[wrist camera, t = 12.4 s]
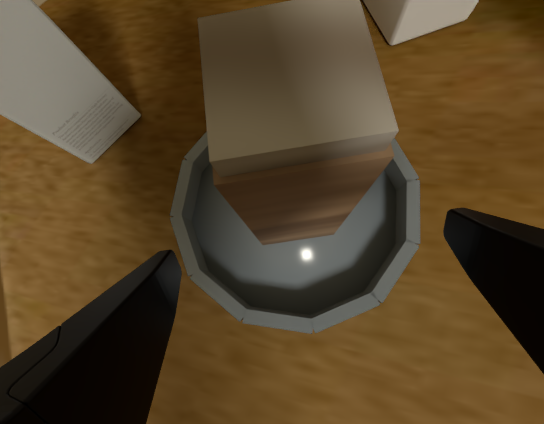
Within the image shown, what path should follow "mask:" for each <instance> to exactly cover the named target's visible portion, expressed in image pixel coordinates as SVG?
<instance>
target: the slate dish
mask: <svg viewBox="0 0 544 424" xmlns="http://www.w3.org/2000/svg"><path fill="white" fill-rule="evenodd" d="M391 145H392V149H393V152H394V157H393V159H392V160H391V161H390V163H389V164H388V165H387V166H386V168H385V169H384V170H383V172H382V173H381V174H380V175H379V177H378V178H377V179H376V181H375V182H374V183H373V185H372V186H371V187H370V188H369V190H368V191H367V192H366V194H365V195H364V196H363V197H362V199H361V200H360V201H359V203H358V204H357V205H356V206H355V208H354V209H353V210H352V212H351V213H350V214H349V215H348V217H347V218H346V219H345V221H344V222H343V223H342V225H341V226H340V227H339V228H338V230H337V231H336V232H335V234H334V235H328V236H322V237H315V238H308V239H302V240H295V241H288V242H282V243H275V244H268V245H262V244H261V243H260V241H259V240H258V239H257V238H256V236H255V235H254V234H253V233H252V232H251V230H250V229H249V228H248V227H247V225H246V224H245V223H244V222H243V220H242V219H241V218H240V217H239V215H238V214H237V213H236V212H235V211H234V209H233V208H232V207H231V206H230V204H229V203H228V202H227V201H226V199H225V198H224V197H223V196H222V195H221V193H220V192H219V191H218V190H217V188H216V187H215V186H214V181H213V169H212V165H211V163H210V162H209V150H208V138H207V131H206V133H205V134H204V135H203V136H202V137H201V138H200V139H199V141H198V142H197V143H196V144H195V145H194V146H193V147H192V149H191V150H190V151H189V152H188V153H187V154H186V155H185V157H184V158H185V159H186V160H182V164H181V169H180V173H179V177H178V182H177V186H176V190H175V195H174V199H173V203H172V208H171V212H170V216H172V217H171V218H170V220H171V224H172V227H173V230H174V233H175V236H176V239H177V243H178V246H179V249H180V252H181V255H182V258H183V262H184V265H185V268H186V271H187V274H188V276H191V278H190V279H191V280H192V281H193V282H194V283H195V284H197V285H198V286H199V287H200V288H201V289H202V290H204V291H205V292H206V293H207V294H208V295H209V296H210V297H212V298H213V299H214V300H215V301H216V302H217V303H219V304H220V305H221V306H222V307H223V308H224V309H226V310H227V311H228V312H229V313H230V314H231V315H233V316H234V317H235V318H236V319H237V320H238V321H239V322H240V321H242V320H243V323H246V324H252V325H259V326H265V327H272V328H278V329H285V330H291V331H298V332H304V333H311V334H312V329H314V332H315V333H317V332H319V331H322V330H324V329H326V328H329V327H331V326H333V325H335V324H338V323H340V322H342V321H345V320H347V319H349V318H351V317H354V316H356V315H358V314H361V313H363V312H365V311H367V310H370V309H372V308H374V307H376V306H379V305H380V304H379V302H380V303H383V301H384V300H385V298H386V297H387V295H388V294H389V292H390V291H391V289H392V288H393V286H394V284H395V283H396V281H397V280H398V278H399V277H400V275H401V274H402V272H403V271H404V269H405V268H406V266H407V265H408V263H409V261H410V260H411V258H412V257H413V255H414V254H415V252H416V251H417V249H418V248H419V246H418V245H417V244H420V180H417V179H418V178H419V177H418V175H417V174H416V172H415V171H414V169H413V167H412V166H411V164H410V162H409V161H408V159H407V158H406V156H405V154H404V153H403V151H402V150H401V148H400V146H399V145H398V143H397V141H396V140H395V138H393V140H392V141H391Z"/></svg>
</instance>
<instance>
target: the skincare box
mask: <svg viewBox="0 0 544 424" xmlns="http://www.w3.org/2000/svg"><path fill="white" fill-rule="evenodd" d="M0 114H1V115H2V116H4V117H6V118H8V119H10V120H12V121H13V122H15V123H17V124H19V125H21V126H22V127H24V128H26V129H28V130H30V131H31V132H33V133H35V134H37V135H39V136H40V137H42V138H44V139H46V140H48V141H50V142H51V143H53V144H55V145H57V146H59V147H61V148H62V149H64V150H66V151H68V152H70V153H72V154H73V155H75V156H77V157H79V158H80V159H82V160H84V161H86V162H87V163H90V164H92V163H94V162H95V161H96V160H97V159H98V158H99V157H100V156H101V155H102V154H103V153H104V152H105V151H106V150H107V149H108V148H109V147H110V146H111V145H112V144H113V143H114V142H115V141H116V140H117V139H118V138H119V137H120V136H121V135H122V134H123V133H124V132H125V131H126V130H127V129H128V128H129V127H130V126H131V125H133V124H134V123H135V122H136V121H137V120H138V119H139V118H140V117H141V114H140V113H139V112H138V111H137V110H136V109H135V108H134V107H133V106H132V105H131V104H130V103H129V102H128V100H127V99H126V98H125V97H124V96H123V95H122V94H121V93H120V92H119V91H118V90H117V89H116V88H115V87H114V86H113V85H112V83H111V82H110V81H109V80H108V79H107V78H106V77H105V76H104V75H103V74H102V73H101V72H100V71H99V70H98V69H97V68H96V66H95V65H94V64H93V63H92V62H91V61H90V60H89V59H88V58H87V57H86V56H85V55H84V54H83V53H82V52H81V50H80V49H79V48H78V47H77V46H76V45H75V44H74V43H73V42H72V41H71V40H70V39H69V38H68V37H67V36H66V35H65V34H64V32H63V31H62V30H61V29H60V28H59V27H58V26H57V25H56V24H55V23H54V22H53V21H52V20H51V19H50V18H49V17H48V16H47V15H46V14H45V13H44V12H43V11H42V10H41V9H40V8H39V7H38V6H37V5H36V4H35V3H34V2H33V1H32V0H0Z"/></svg>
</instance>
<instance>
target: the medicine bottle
mask: <svg viewBox="0 0 544 424" xmlns="http://www.w3.org/2000/svg"><path fill="white" fill-rule="evenodd" d="M478 1H479V0H363V2H364V3H365V5H366V7H367V8H368V10H369V12H370V13H371V15H372V17H373V18H374V20H375V22H376V23H377V25H378V27H379V28H380V30H381V32H382V33H383V35H384V37H385V39H386V40H387V42H388V44H389V45H396V44H399V43H401V42H404V41H407V40H410V39H413V38H416V37H419V36H422V35H424V34H427V33H430V32H433V31H436V30H439V29H442V28H444V27H447V26H450V25H453V24H456V23H459V22H462V21H464V20H466V19H467V18H468V16H469V15H470V13H471V12H472V10H473V9H474V7H475V6H476V4H477V3H478Z"/></svg>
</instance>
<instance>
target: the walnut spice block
mask: <svg viewBox="0 0 544 424" xmlns="http://www.w3.org/2000/svg"><path fill="white" fill-rule="evenodd" d="M198 30H199V42H200V54H201V66H202V78H203V90H204V102H205V114H206V126H207V138H208V150H209V162H210V163H211V165H212V169H213V181H214V186H215V187H216V188H217V190H218V191H219V192H220V193H221V195H222V196H223V197H224V198H225V199H226V201H227V202H228V203H229V204H230V206H231V207H232V208H233V209H234V211H235V212H236V213H237V214H238V215H239V217H240V218H241V219H242V220H243V222H244V223H245V224H246V225H247V227H248V228H249V229H250V230H251V232H252V233H253V234H254V235H255V236H256V238H257V239H258V240H259V241H260V243H261V244H262V245H268V244H275V243H282V242H288V241H295V240H302V239H308V238H315V237H322V236H328V235H334V234H335V232H336V231H337V230H338V228H339V227H340V226H341V225H342V223H343V222H344V221H345V219H346V218H347V217H348V215H349V214H350V213H351V212H352V210H353V209H354V208H355V206H356V205H357V204H358V203H359V201H360V200H361V199H362V197H363V196H364V195H365V194H366V192H367V191H368V190H369V188H370V187H371V186H372V185H373V183H374V182H375V181H376V179H377V178H378V177H379V175H380V174H381V173H382V172H383V170H384V169H385V168H386V166H387V165H388V164H389V163H390V161H391V160H392V159H393V157H394V152H393V149H392V145H391V141H392V140H393V138H394V137H395V136H396V134H397V133H398V131H399V130H398V127H397V123H396V120H395V116H394V113H393V110H392V106H391V103H390V100H389V96H388V93H387V90H386V86H385V83H384V80H383V76H382V73H381V70H380V66H379V63H378V59H377V56H376V53H375V49H374V46H373V43H372V39H371V36H370V33H369V29H368V26H367V23H366V19H365V16H364V13H363V9H362V6H361V2H360V0H292V1H286V2H281V3H276V4H270V5H265V6H260V7H254V8H249V9H244V10H238V11H233V12H228V13H222V14H217V15H212V16H206V17H201V18H198Z"/></svg>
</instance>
